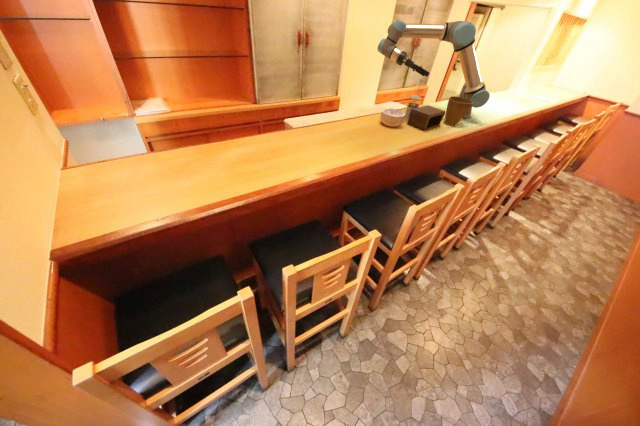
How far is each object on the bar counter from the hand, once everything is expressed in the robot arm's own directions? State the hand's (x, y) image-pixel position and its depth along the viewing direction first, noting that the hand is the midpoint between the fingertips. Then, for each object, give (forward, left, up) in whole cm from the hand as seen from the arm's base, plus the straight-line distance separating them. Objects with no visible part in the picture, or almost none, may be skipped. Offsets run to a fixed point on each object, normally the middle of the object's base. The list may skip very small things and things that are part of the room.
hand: (426, 74), depth 152 cm
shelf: (+2, +11, -28) cm, 30 cm away
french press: (+1, -2, -28) cm, 29 cm away
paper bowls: (+23, -1, -28) cm, 36 cm away
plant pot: (-21, +18, -28) cm, 40 cm away
